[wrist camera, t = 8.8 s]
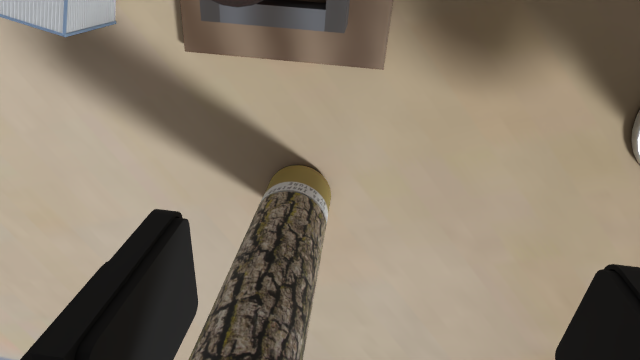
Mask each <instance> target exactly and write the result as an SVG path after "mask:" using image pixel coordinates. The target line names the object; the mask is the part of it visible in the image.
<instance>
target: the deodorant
mask: <svg viewBox="0 0 640 360" xmlns="http://www.w3.org/2000/svg"><path fill="white" fill-rule="evenodd" d="M212 1H214V2H216V3H218V4H221V5H224V6H231V7H245V6H252V5H255V4H257V3H259V2H261V1H263V0H212Z"/></svg>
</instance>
